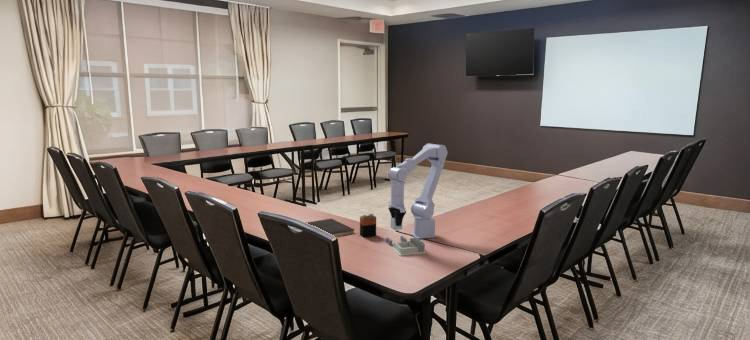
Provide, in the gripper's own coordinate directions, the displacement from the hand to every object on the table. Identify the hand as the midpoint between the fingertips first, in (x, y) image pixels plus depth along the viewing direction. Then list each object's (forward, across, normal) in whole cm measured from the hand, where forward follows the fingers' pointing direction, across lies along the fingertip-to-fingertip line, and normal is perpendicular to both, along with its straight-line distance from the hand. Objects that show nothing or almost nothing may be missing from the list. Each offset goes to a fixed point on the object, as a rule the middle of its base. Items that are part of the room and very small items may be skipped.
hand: (396, 224), depth 200 cm
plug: (+2, 0, 0) cm, 2 cm away
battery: (+9, -14, -9) cm, 19 cm away
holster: (+9, 0, 0) cm, 9 cm away
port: (+9, +11, +1) cm, 14 cm away
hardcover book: (+9, -28, -25) cm, 39 cm away
